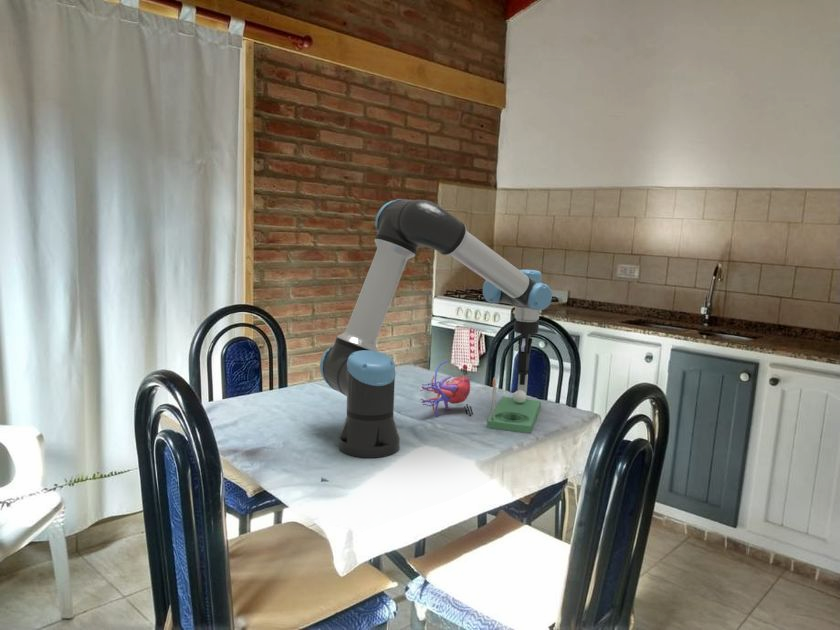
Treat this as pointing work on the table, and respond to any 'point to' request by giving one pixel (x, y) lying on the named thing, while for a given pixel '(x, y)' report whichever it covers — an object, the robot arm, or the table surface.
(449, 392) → the heart model
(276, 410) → the table surface
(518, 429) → the green
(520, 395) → the ball
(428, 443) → the table surface
